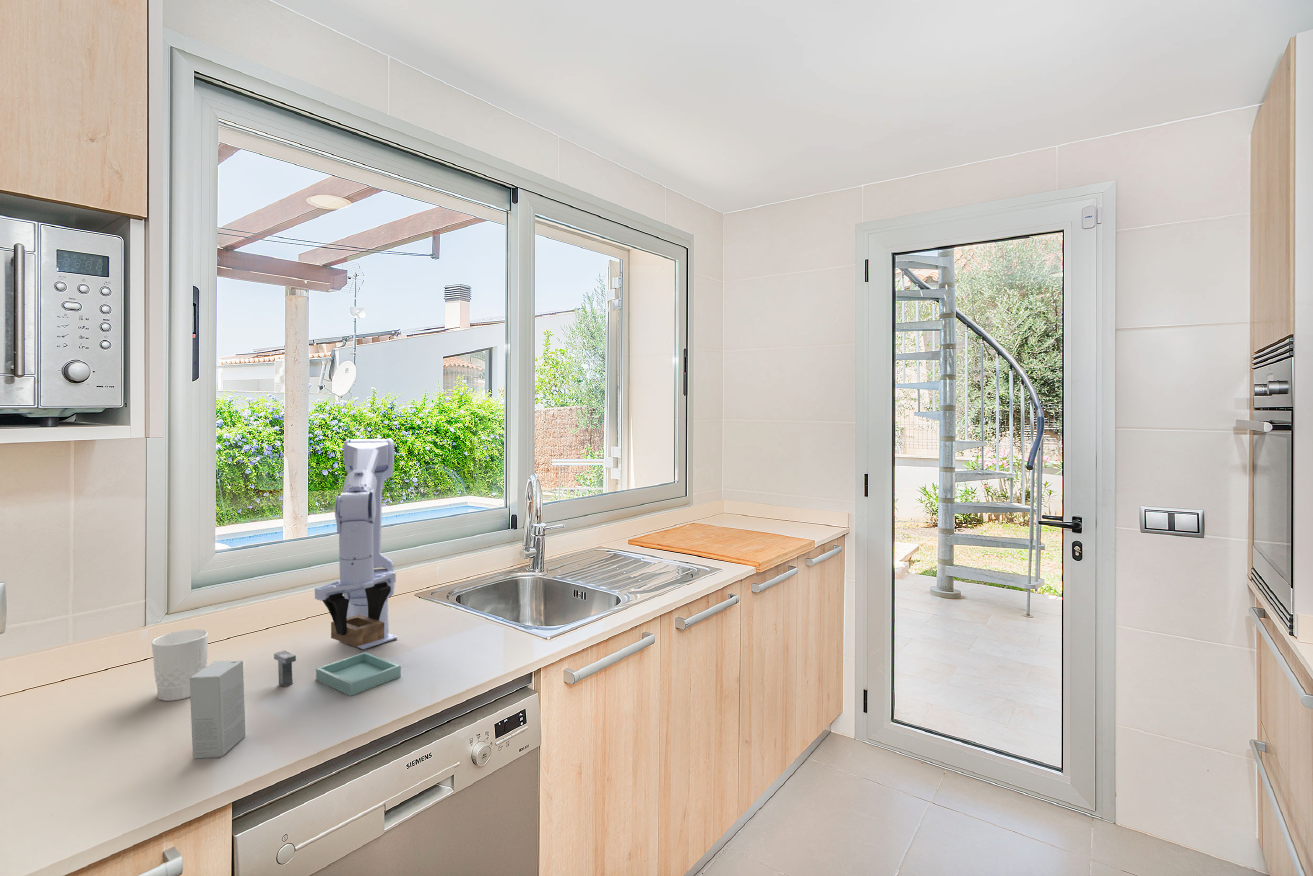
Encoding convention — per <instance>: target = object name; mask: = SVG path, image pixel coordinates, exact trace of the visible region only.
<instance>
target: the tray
mask: <svg viewBox="0 0 1313 876" xmlns="http://www.w3.org/2000/svg"><path fill="white" fill-rule="evenodd" d="M401 670H402V669H401V665H399V663H398V664H397V663H395V662H392V661H390V660H388V659H385V658H382V657H380V656H376V655H375V654H372V653H369V652H367V651H364V652H361V653H358V654H355V655H353V656H349V657H347V658H343V659H340V660H337V661H335V662H331V663H329V664H328V663H327V664H326V665H321V666H320V667H316V668H315V680H316V681H318V682H320V683H322V684H325V685H327V686H328V687H331V688H333V689H336V690H338V691H339V692H341V693H344V694H346V695H348V696H349V697H351V696H355V695H357V694H361V693H362V692H364V691H367V690H369V689H372V688H375V687H377V686H380V685H383V684H386V683H388V682H390V681H393V680H395V679H398V678H401V675H402V674H401V673H402V672H401Z"/></svg>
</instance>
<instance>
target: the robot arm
mask: <svg viewBox="0 0 1313 876" xmlns="http://www.w3.org/2000/svg"><path fill="white" fill-rule="evenodd" d="M342 449H343V453H342V454H343V464H344V465H345V470H346V473H347V475H346V477H345V479H344V483H343V488H342V492H341V494H340V495H336V497H335V501H334V518H335V521H336V534H338V545H339V546H338V547H339V548H338V551H339V552H338V553H339V555H338V557H339V580H336V581H333V582H331V583H328V584H326V585H325V584H324V585H322V586H319V587H315V588H314V599H315V600H317V601H320V602H321V601H322V602H323V604H324V606H325V607H326V608H327V610H328V612H329V614H330V616H331V619H332V622H333V621H334V624H335V628H336V632H337V634H340V635H345V634H346V632H347V618H348V617H352V616H356V615H363V616H366V617H369V618H372V619H375V620H379V621H382V622H384V638H383V639H380V640H377V641H374V642H370V643H367V644H364V645H361V646H357V647H356V648H359V649H361V650H367V649H369V648H372V647H375V646H379V645H381V644H385V643H387V642H390V641H394V640H396V639H398V636H397V635H394V634H392V633H390V632H389V598H392V597H393V595H395V589H396V588H395V587H396V584H395V583H396V578H397V577H396V572H395V564H394V561H393V560H392V559H390V558H389V557H387V556H386V555H384V554H383V553H382V507H383V506H382V504H383V503H382V500H383V498H382V497H383V487H384V485H385V481H386V480H388V479H390V478H391V477H393V476H394V475H393V473H394V471H395V469H394V468H395V442H394V440H393V439H392V437H391V438H390V437H389V438H365V439H364V438H362V439H361V438H360V439H359V438H357V439H356V438H355V439H351V438H346V440H345V441H343V448H342Z"/></svg>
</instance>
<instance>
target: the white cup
mask: <svg viewBox="0 0 1313 876" xmlns="http://www.w3.org/2000/svg"><path fill="white" fill-rule="evenodd" d="M208 643H209V631H207V630H205V629H195V628H194V629H185V630H177V631H174V632H169V633H166V634H163V635H161V636H158V637H155V638H154V639H153V640H152V641H151V648H152V662H153V671H154V678H155V684H156V689H157V690H156V691H157V698H158V700H160V701H166V702H167V701H168V702H170V701H173V702H174V701H178V700H183V699H187V698H190V677H192V676H193V675H195V674H197V673H198V672H200V671H201V670H203V669H204V668H206V667H207V666H208V647H209V644H208Z"/></svg>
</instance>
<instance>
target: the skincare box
mask: <svg viewBox="0 0 1313 876" xmlns="http://www.w3.org/2000/svg"><path fill="white" fill-rule="evenodd" d="M189 699H190V718H191V719H190V720H191V721H190V723H191V739H192V740H191V741H192V742H191V743H192V745H191V746H192V758H193V759H207V758H208V759H210V758H212V759H214V758H223V757H224V756H225V755H226V754H227V753H228V752H229V751H231V750H232V749H233V748H234V746H236V745H237V744H238V743H239V742H240V741H241V740H243V738H245V737H246V734H247V733H246V716H245V715H246V714H245V713H246V711H245V710H246V709H245V684H244V661H243V660H215V661H213V662H212V663H211V664H209V665H207V667H206V668H204V669H203V670H201V671H200V672H198V673H197V674H195V675H193V676H192V677H190V697H189Z"/></svg>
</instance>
